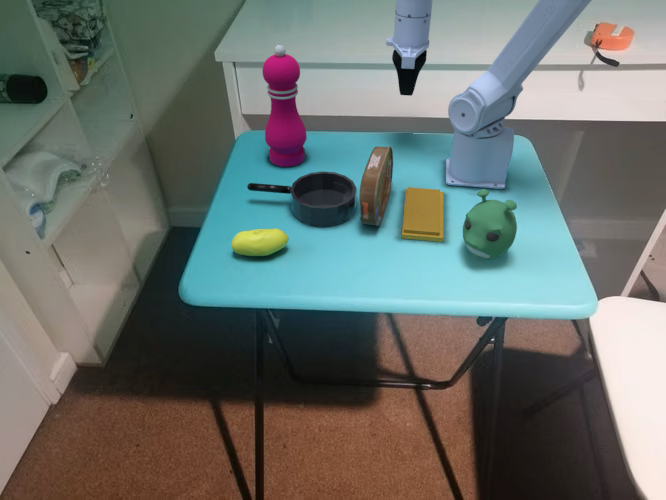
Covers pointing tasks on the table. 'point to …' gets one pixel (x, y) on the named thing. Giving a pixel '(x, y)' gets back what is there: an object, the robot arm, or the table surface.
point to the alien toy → (490, 227)
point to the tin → (376, 185)
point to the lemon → (259, 242)
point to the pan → (323, 199)
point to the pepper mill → (283, 110)
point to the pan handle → (269, 188)
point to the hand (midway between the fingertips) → (406, 93)
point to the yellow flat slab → (423, 215)
